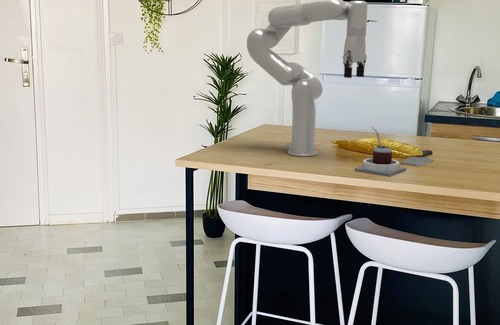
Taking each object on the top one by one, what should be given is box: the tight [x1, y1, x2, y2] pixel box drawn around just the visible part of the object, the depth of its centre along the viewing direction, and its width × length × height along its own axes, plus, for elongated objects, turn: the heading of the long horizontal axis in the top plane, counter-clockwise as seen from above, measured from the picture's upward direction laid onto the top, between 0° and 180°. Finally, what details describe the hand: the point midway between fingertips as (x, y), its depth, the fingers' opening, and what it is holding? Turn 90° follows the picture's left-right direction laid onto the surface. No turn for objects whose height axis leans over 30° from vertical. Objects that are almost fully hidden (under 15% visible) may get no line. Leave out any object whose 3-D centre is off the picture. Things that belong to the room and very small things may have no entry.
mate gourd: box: [371, 126, 393, 165], centre depth 223 cm, size 8×8×15 cm
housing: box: [354, 157, 407, 178], centre depth 225 cm, size 14×14×4 cm
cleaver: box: [400, 149, 434, 168], centre depth 247 cm, size 30×10×2 cm, turn 148°
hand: (353, 77), depth 240 cm, fingers open, 9 cm apart
